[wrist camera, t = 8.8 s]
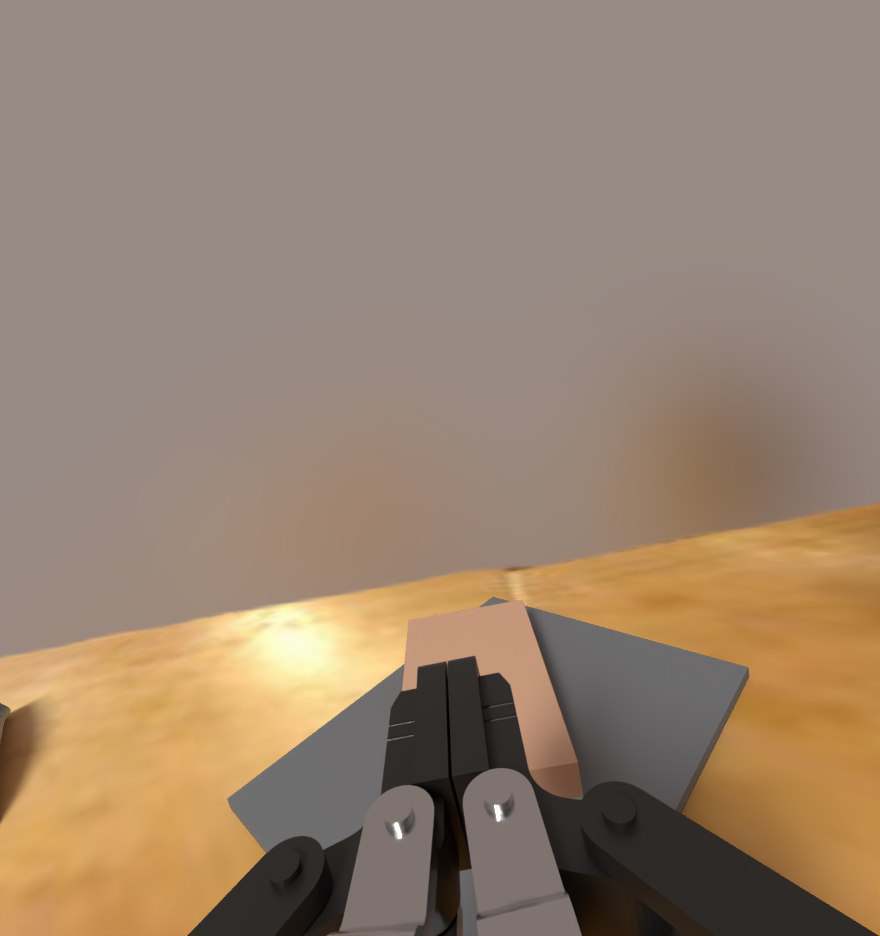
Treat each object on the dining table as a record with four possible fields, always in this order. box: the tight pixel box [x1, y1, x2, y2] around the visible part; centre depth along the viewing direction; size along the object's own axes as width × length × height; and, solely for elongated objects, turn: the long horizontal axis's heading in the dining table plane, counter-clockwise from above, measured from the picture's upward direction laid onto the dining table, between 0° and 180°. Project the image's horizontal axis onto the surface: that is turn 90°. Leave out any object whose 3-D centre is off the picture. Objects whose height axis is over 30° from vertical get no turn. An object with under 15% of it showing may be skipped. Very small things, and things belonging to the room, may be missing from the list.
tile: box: [402, 600, 583, 800], centre depth 29 cm, size 2×8×14 cm
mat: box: [227, 597, 749, 936], centre depth 27 cm, size 22×18×1 cm
